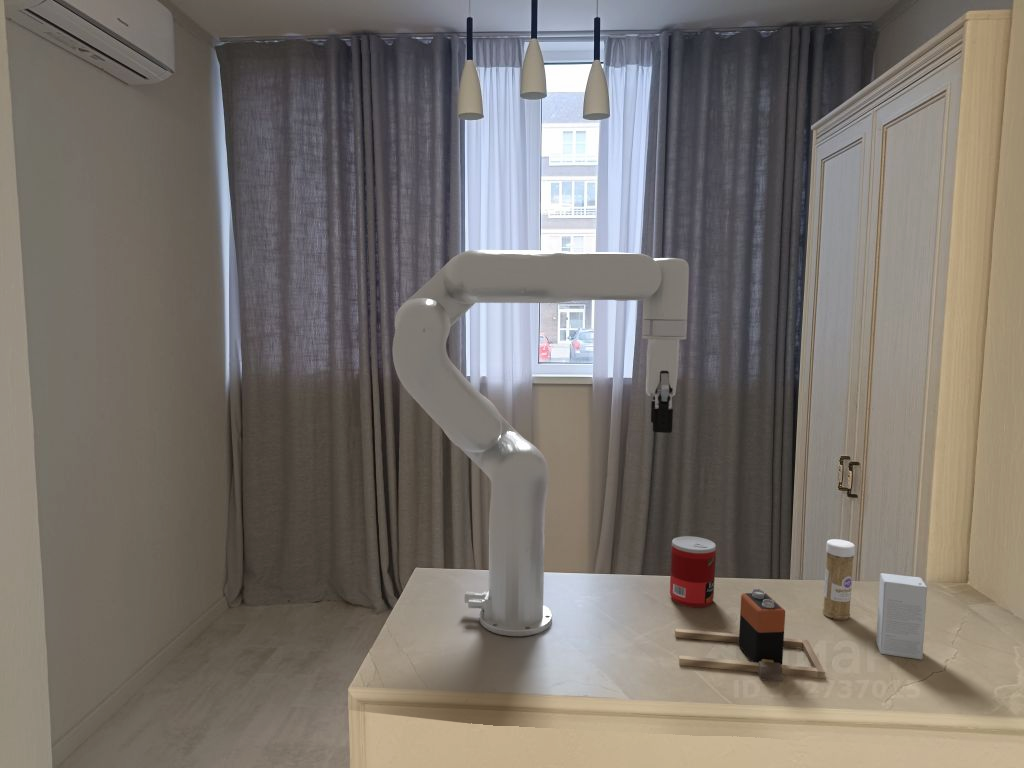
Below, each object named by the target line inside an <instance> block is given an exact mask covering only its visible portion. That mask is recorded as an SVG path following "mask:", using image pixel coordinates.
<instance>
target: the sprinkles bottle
mask: <svg viewBox="0 0 1024 768" xmlns="http://www.w3.org/2000/svg"><path fill="white" fill-rule="evenodd" d="M825 546H826V547H825V552H826V561H825V569H824V570H825V571H824V586H823V608H822V614H823V615H824V616H826V617H828V618H830V619H832V618H833V620H839V621H842V620H843V621H844V620H848V619H849V618H850V617H851V613H850V611H851V610H850V609H851V600H852V589H853V568H854V567H853V565H854V557H855V556H856V555H855V552H856V544H854V543H853V542H851V541H848V540H845V539H839V538H837V539H836V538H833V539H828V540H827V541H826V545H825Z"/></svg>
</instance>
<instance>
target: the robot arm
mask: <svg viewBox="0 0 1024 768" xmlns="http://www.w3.org/2000/svg"><path fill="white" fill-rule="evenodd" d="M689 266H690V265H689V263H688V261H687V260H685V259H682V258H679V257H678V258H675V257H660V258H653V257H651V256H650V255H647V254H644V253H640V252H639V253H636V252H631V253H630V252H573V251H572V252H571V251H570V252H569V251H556V250H554V251H553V250H551V251H550V250H548V251H547V250H546V251H545V250H501V249H499V250H498V249H497V250H496V249H495V250H494V249H472V250H466V251H463V252H461V253H459V254H457V255H455V256H453V258H451V259H450V260H449V261H448V262H447V263H445V265H443V267H442V268H441V269H440V270H439V271H437V272H436V273H435V274H434V275H433V277H431V278H430V279H429V280H428V281H427V282H426V283H425V284H424V285H423V286H422V287H420V288H419V289H418V290H417V291H416V292H414V294H412V296H410V297H409V298H408V299H407V300H405V302H404V303H403V304H402V305H401V306H400V307H399V309H398V310H397V312H396V313H395V317H394V329H395V331H394V335H393V340H392V358H393V359H392V361H393V366H394V368H395V372H396V375H397V376H398V379H399V381H400V382H401V385H402V386H403V387H404V389H405V390H406V392H408V394H409V395H410V396H411V397H412V398H413V399H414V400H415V402H416V403H418V405H419V406H420V407H421V408H422V409H423V410H424V411H425V413H426V414H427V415H428V416H430V418H431V419H432V420H433V421H434V422H435V423H436V425H438V426H439V427H440V429H442V431H443V432H444V433H445V435H446V436H447V438H448V439H449V440H450V441H451V442H452V444H454V445H455V446H456V447H458V448H459V449H461V451H462V452H463V453H464V454H465V455H466V456H467V457H468V458H470V460H471V461H472V462H473V463H474V464H476V466H477V467H478V468H479V469H481V471H482V472H483V473H484V474H485V475H486V477H488V478H489V481H490V482H491V495H490V502H489V515H488V591H483V592H482V593H480V592H474V591H465V593H464V603H467V604H468V605H467V607H468V608H469V609H481V610H480V611H479V622H480V625H481V626H482V627H483V628H485V629H486V630H488V631H490V632H491V633H494V634H497V635H502V636H506V637H507V636H508V637H527V636H532V635H537V634H540V633H541V632H544V631H545V630H547V629H548V628H550V626H551V625H552V622H553V613H552V611H551V610H550V609H549V607H547V606H546V605H544V584H545V582H544V577H545V526H546V524H545V523H546V508H547V507H546V506H547V505H546V504H547V497H548V493H549V492H548V491H549V483H550V470H549V466H548V462H547V460H546V458H545V456H544V454H543V453H542V451H541V450H540V449H538V447H536V446H535V445H534V444H533V443H531V442H530V441H528V440H527V439H526V438H524V436H522V435H521V434H520V433H519V432H518V431H517V430H516V429H515V428H514V427H513V426H512V425H511V424H510V422H508V421H507V420H506V418H504V417H503V416H502V414H501V413H500V412H499V410H498V409H497V407H496V405H494V403H493V402H492V401H491V400H489V398H487V397H486V396H484V395H483V394H482V393H481V392H479V391H478V389H476V387H474V385H472V383H471V382H470V381H469V380H468V379H467V378H466V377H465V376H464V374H463V373H462V372H461V371H460V370H459V369H458V368H457V366H455V364H454V363H453V362H452V361H451V359H450V357H449V356H448V352H447V341H448V337H449V335H450V331H451V327H452V326H453V325H455V323H456V322H458V321H459V320H460V319H461V318H462V317H463V316H464V315H465V314H466V313H467V312H469V310H470V309H471V308H473V306H474V305H475V304H476V303H481V304H483V303H485V304H491V303H493V304H494V303H495V304H505V303H506V304H507V303H508V304H560V303H565V302H566V303H567V302H573V301H575V302H576V301H619V302H622V301H623V302H624V301H625V302H626V301H627V302H628V301H643V304H642V306H643V309H642V331H641V333H642V336H641V337H642V338H641V339H644V340H647V349H646V352H647V353H646V368H645V369H646V370H645V371H646V373H645V376H646V377H645V393H646V395H647V396H648V397H651V395H652V400H651V404H650V405H651V406H650V407H651V408H650V410H651V411H650V423H652V432H653V433H662V434H663V433H668V434H670V433H672V432H673V419H674V418H673V414H674V409H673V397H675V395H676V392H677V383H678V373H679V356H680V355H679V354H680V353H679V352H680V340H687V333H688V332H687V329H688V309H689V308H688V307H689V306H688V305H689V304H688V300H689V282H690V281H689V278H690V275H689V274H690V267H689Z"/></svg>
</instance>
